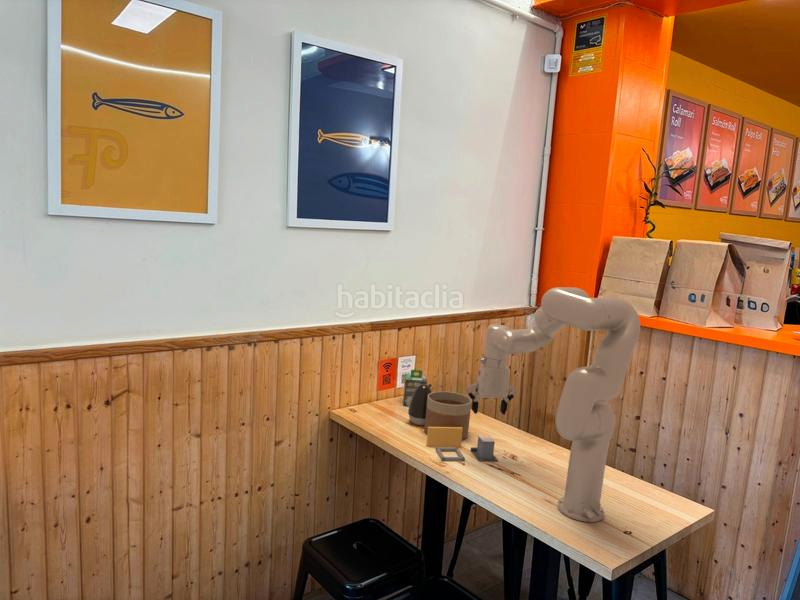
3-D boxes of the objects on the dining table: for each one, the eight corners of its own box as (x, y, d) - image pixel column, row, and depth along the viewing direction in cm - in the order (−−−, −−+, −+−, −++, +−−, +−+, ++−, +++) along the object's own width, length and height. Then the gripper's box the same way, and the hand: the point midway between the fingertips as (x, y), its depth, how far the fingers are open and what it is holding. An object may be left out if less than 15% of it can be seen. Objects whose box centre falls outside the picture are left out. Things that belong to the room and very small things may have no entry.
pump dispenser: (439, 423, 224) (442, 384, 221) (425, 430, 215) (429, 390, 213) (416, 416, 229) (419, 378, 227) (402, 423, 220) (405, 384, 218)
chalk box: (424, 401, 249) (427, 367, 247) (425, 408, 240) (428, 373, 238) (402, 399, 249) (405, 365, 247) (402, 406, 240) (406, 371, 238)
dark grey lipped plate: (498, 462, 191) (499, 458, 191) (478, 462, 189) (479, 458, 189) (489, 451, 200) (490, 447, 199) (470, 451, 198) (470, 447, 198)
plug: (492, 459, 192) (494, 441, 192) (481, 459, 192) (483, 441, 191) (487, 452, 197) (489, 435, 196) (476, 452, 196) (478, 435, 196)
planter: (436, 444, 202) (440, 406, 200) (416, 428, 216) (420, 392, 214) (475, 440, 209) (479, 403, 207) (454, 425, 223) (457, 390, 221)
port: (470, 462, 189) (473, 441, 188) (435, 462, 187) (437, 441, 186) (459, 446, 202) (462, 427, 201) (426, 446, 199) (428, 426, 198)
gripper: (472, 364, 185) (466, 416, 187) (524, 366, 188) (517, 417, 191) (466, 358, 192) (460, 408, 195) (515, 360, 195) (509, 409, 198)
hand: (488, 412), depth 193 cm, fingers open, 9 cm apart
